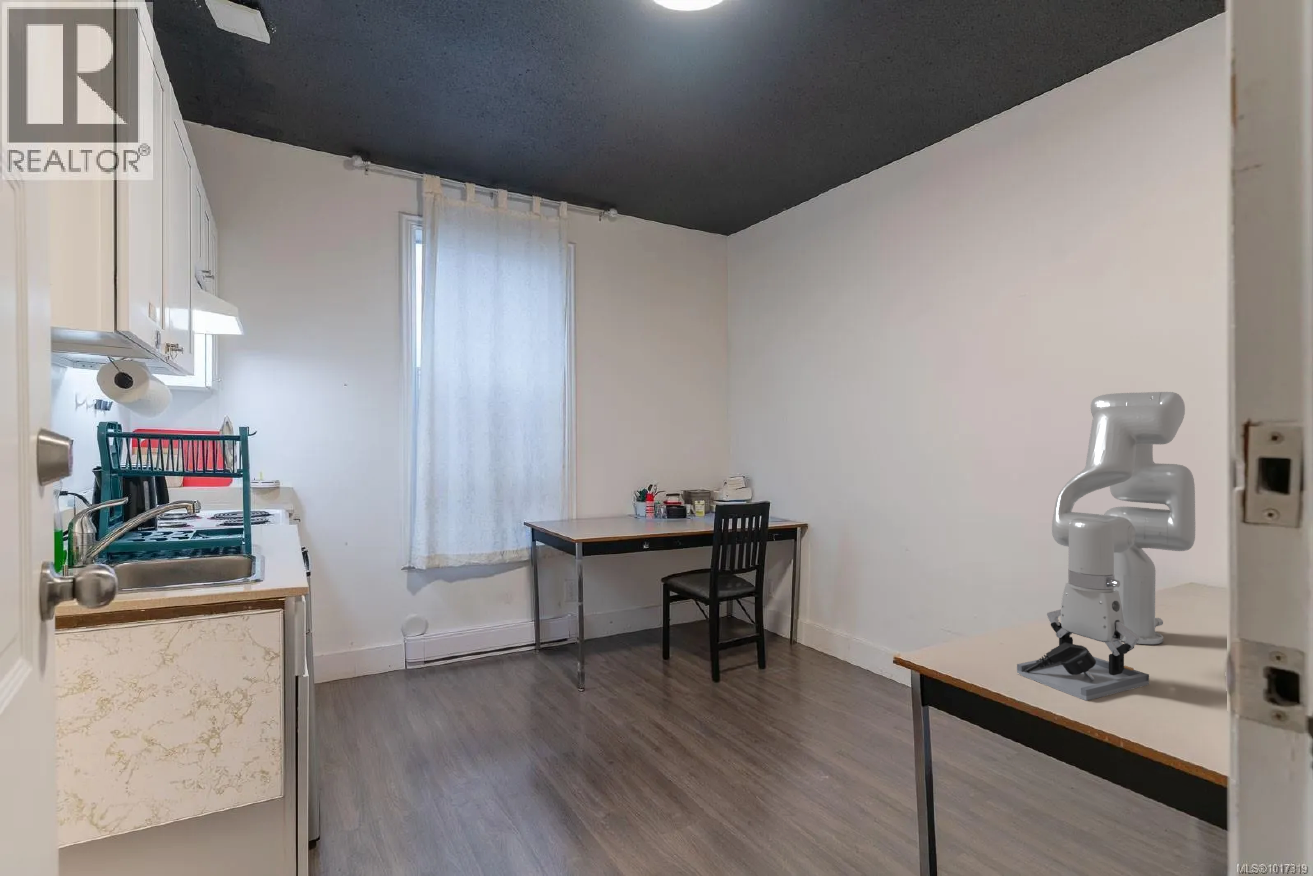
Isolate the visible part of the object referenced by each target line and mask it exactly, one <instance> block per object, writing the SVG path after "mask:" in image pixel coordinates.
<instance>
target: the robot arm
mask: <svg viewBox="0 0 1313 876" xmlns="http://www.w3.org/2000/svg"><path fill="white" fill-rule="evenodd" d="M1090 413H1091V417H1092V422H1091V428H1090V433H1089V440H1088V448H1087V453H1086V461H1085V466H1084V468H1083V469H1082V470H1081V471H1079V472H1078V473H1077V474H1075V475H1074V476H1072V478H1070V479H1069V480H1068V481H1067V482H1066V483H1065V484H1064V485H1063V487H1062V488H1061V489H1060V490H1059V492H1058V495H1057V497H1056V499H1055V504H1054V510H1053V515H1052V521H1051V522H1052V523H1051V534H1052V537H1053V539H1054V541H1055V542H1056V543H1057V544H1059V545H1060V546H1063V547H1067V548H1068V575H1067V578H1068V579H1067V581H1068V582H1065V585H1064V588H1063V593H1062V597H1061V606H1060V607H1061V608H1060V609H1057V610H1051V611H1049V612H1047V613H1046V616H1047V618H1048V621H1049V623H1050V627H1051V628H1052V629H1053V631H1054V632H1055V636H1056V637H1057V638H1058V646H1059V645H1061V644H1063V643H1065V642H1066V643H1069V644H1074V638H1073V637H1072V636H1071V635H1072V634H1074V635H1077V636H1080V637H1083V638H1086V639H1087V638H1088V639H1091V640H1094V641H1098V642H1100V643H1105V645H1106V646H1107V647H1108V649H1109V651H1110V652H1111V653H1110V654H1108V661H1109V673H1110V675H1117V674H1121V673H1122V672H1123V670H1124V666H1125V655H1126V654H1128V653H1129V652H1130V651H1132V650H1133V649H1135V646H1136V645H1137V644H1139V645H1159V644H1162V643H1163V642H1164V636H1163V635H1162V634H1161V633H1159V632H1158V631H1156V627H1160V626H1163V624H1164V620H1163V619H1162V618H1161V617H1156V573H1157V571H1156V566H1155V563H1154V562H1153V560H1152V559H1151V558H1150V556H1149V555H1148V554H1147V553H1146V551H1144V549H1156V550H1162V551H1173V552H1186V551H1188V550H1190V549H1192V547H1193V546H1194V544H1195V540H1196V490H1195V489H1196V488H1195V485H1196V484H1195V478H1194V474H1193V473H1192V471H1191V469H1190V468H1189V467H1187V466H1185V465H1183V464H1177V463H1176V464H1175V463H1158V462H1157V463H1155V462H1154V458H1153V457H1154V455H1153V450H1154V449H1153V445H1167V444H1169V443H1171V442H1172V441H1173V440H1174V439H1175V437H1176V435H1177V433H1178V431H1179V429H1180V427H1181V426H1182V423H1183V421H1184V418H1185V414H1186V406H1185V402H1184V399H1183V398H1182V396H1181V395H1180V394H1179V393H1177V392H1173V391H1150V392H1145V391H1144V392H1120V393H1115V392H1114V393H1106V394H1102V395H1098V396H1096V397H1094V398H1093V399H1092V400H1091V402H1090ZM1108 487H1109V491H1110V494H1111V496H1112V497H1113V498H1114V499H1116V500H1119V501H1122V502H1131V503H1144V504H1145V503H1146V504H1157V505H1165V506H1166V507H1168V509H1163V508H1162V509H1161V508H1149V507H1140V506H1138V507H1137V506H1115V507H1111V508H1109V509H1108V510H1106V511H1105V512H1104V514H1097V513H1088V512H1076V511H1075V512H1074V511H1073V508H1074V506H1075V505H1076V504H1077V502H1078V501H1079V500H1080V499H1082V498H1083V497H1084V496H1086V495H1088V494H1091V493H1093V492H1096V491H1099V490H1102V489H1105V488H1108ZM1059 617H1060V621H1059ZM1123 642H1124V643H1123Z"/></svg>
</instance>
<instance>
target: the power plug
mask: <svg viewBox="0 0 1313 876" xmlns="http://www.w3.org/2000/svg"><path fill="white" fill-rule="evenodd" d="M1094 657H1095V656H1093V655H1092V653H1091V652H1090V651H1089V649H1088V648H1087V647H1086V646H1084V645H1078V644H1074V643H1073V644H1069V643H1066V642H1065V643H1063V644H1061V645H1059V644H1058V646H1056V647H1054V648H1052V649H1050V651H1048V652H1047V653H1045V654H1044V655H1043V656H1041V657H1040V658H1039V659H1040V661H1039V659H1036V660H1037V661H1036V663H1037V664H1035V665H1033V666H1031V667H1029V668H1027V669H1026V671H1027V673H1028V672H1030V671H1032V670H1034V669H1035V668H1037V667H1039V666H1040V668H1043V665H1044V666H1045V667H1046V665H1048V666H1049V664H1048V663H1050V664H1051V665H1052V663H1057V662H1059V661H1060V663H1061V664H1062V665H1063V667H1064V668H1065V669H1066V671H1067V672H1068V673H1069V674H1071V675H1078V674H1081V673H1084V674H1085V675H1086V676H1088V678H1089V679H1090V680H1091V681H1094V678H1093V676H1092V675H1091V674H1090V672H1089V669H1091V668H1093V667H1094V666H1095V664H1096V660H1095V659H1094Z"/></svg>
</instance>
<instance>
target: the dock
mask: <svg viewBox="0 0 1313 876" xmlns="http://www.w3.org/2000/svg"><path fill="white" fill-rule="evenodd" d="M1093 657H1094V659H1095V660H1096V664H1095V666H1094V667H1093V668H1091V669H1089V672H1090V674H1091V675H1092V676H1093V678H1094V681H1091V680H1090V679H1089V678H1088V676H1086V675H1085V674H1084V673H1081V674H1078V675H1071V674H1069V673H1068V672H1067V671H1066V669H1065V668H1064V667H1063V665H1062V664H1061V663H1060V661H1059V662H1057V663H1052V665H1051V664H1050V663H1048V664H1049V666H1048V665H1046V667H1045V666H1044V665H1043V668H1040V666H1039V667H1037V668H1035V669H1034V670H1032V671H1030V672H1028V673H1027V671H1026V669H1027V668H1029V667H1031V666H1033V665H1035V664H1037V663H1036V661H1037V660H1039V661H1040V658H1038V659H1035V660H1030V661H1027V662H1022V663H1017V664H1016V674H1017V673H1019V674H1021V675H1022V677H1024V678H1027V679H1029V678H1031V679H1030V680H1032V681H1034V682H1037V683H1039V682H1040V684H1042V685H1044V686H1047V687H1050V688H1052V689H1055V690H1058V691H1060V692H1063V693H1065V694H1068V695H1070V696H1073V697H1075V698H1079V699H1081V700H1083V701H1086V702H1087V701H1091V700H1095V699H1099V698H1102V697H1106V696H1109V695H1115V694H1117V693H1122V692H1126V691H1129V690H1134V689H1136V688H1140V687H1141V688H1142V687H1145V686H1148V685H1150V674H1148V673H1145V672H1142V671H1139V670H1137V669H1134V667H1131V666H1128V665H1124V670H1123V672H1122V673H1121V674H1117V675H1110V673H1109V660H1105V659H1103V658H1099V657H1095V656H1093ZM1019 674H1018V675H1019ZM1021 675H1020V676H1021Z"/></svg>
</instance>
